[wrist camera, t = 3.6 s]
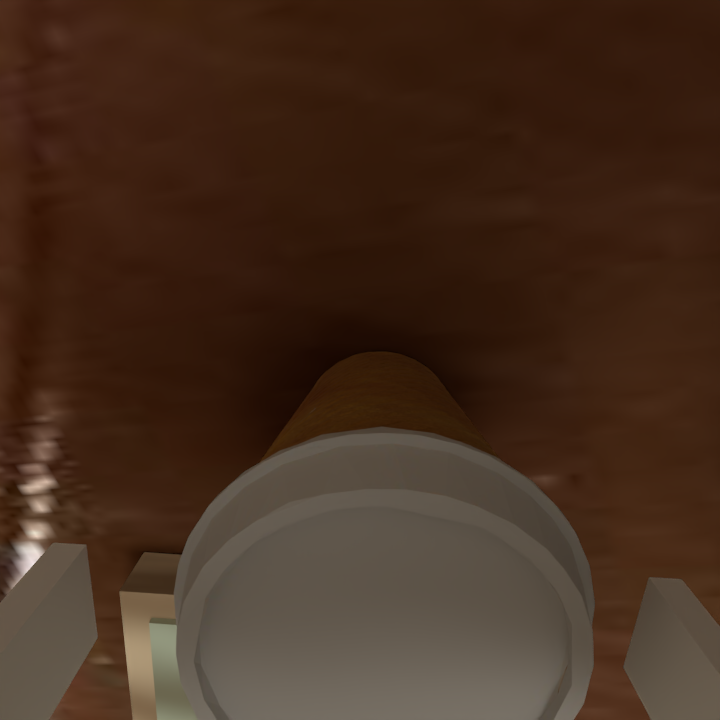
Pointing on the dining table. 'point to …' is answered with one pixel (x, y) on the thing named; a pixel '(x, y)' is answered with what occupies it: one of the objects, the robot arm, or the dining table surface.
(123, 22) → the dining table surface
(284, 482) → the disposable coffee cup
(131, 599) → the trivet
